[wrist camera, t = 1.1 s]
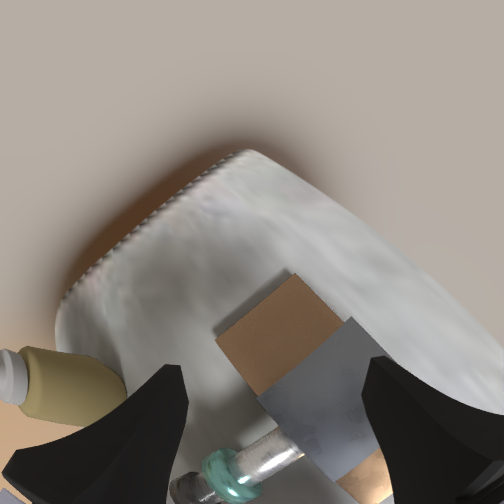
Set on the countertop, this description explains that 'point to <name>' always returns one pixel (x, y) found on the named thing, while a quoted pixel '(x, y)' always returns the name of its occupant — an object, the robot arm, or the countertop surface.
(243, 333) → the sharpening stone
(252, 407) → the countertop surface
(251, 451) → the shaft
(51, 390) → the squeeze bottle
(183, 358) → the countertop surface
